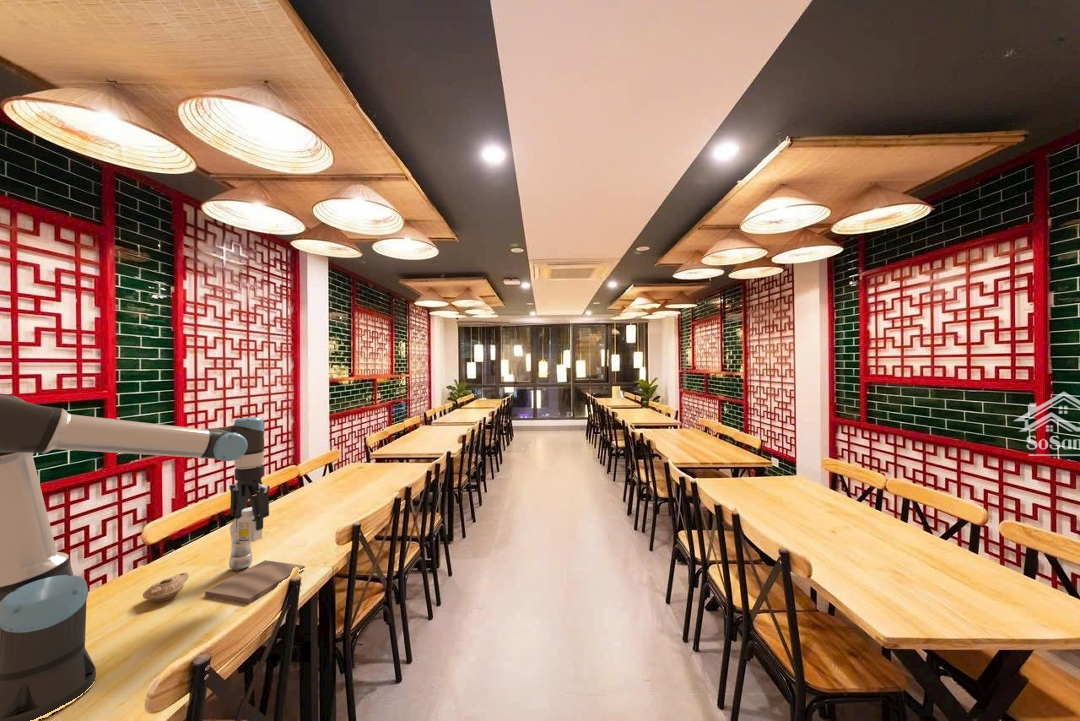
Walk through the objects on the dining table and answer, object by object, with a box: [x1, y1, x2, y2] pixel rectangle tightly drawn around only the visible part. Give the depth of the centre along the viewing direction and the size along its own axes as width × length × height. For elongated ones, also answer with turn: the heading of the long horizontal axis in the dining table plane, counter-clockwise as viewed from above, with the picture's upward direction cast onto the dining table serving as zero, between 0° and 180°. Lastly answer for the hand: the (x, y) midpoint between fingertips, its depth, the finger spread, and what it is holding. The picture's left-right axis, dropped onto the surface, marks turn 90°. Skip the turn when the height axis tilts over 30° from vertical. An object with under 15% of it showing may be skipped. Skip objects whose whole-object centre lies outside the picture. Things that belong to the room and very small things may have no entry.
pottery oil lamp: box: [142, 572, 190, 602], centre depth 119 cm, size 9×12×7 cm
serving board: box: [204, 559, 306, 605], centre depth 126 cm, size 20×17×2 cm
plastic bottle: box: [228, 518, 253, 571], centre depth 135 cm, size 6×7×20 cm
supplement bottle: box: [239, 506, 259, 543], centre depth 123 cm, size 5×5×10 cm
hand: (249, 538), depth 123 cm, fingers closed on supplement bottle, 5 cm apart
